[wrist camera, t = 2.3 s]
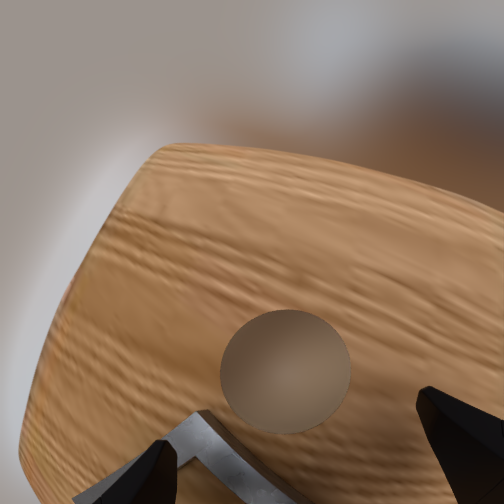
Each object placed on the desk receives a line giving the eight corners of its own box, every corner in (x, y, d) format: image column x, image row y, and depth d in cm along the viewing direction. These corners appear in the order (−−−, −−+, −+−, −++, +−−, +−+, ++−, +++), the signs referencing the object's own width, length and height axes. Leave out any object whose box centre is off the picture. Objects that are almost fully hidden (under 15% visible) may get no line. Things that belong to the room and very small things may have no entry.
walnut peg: (334, 379, 16) (376, 363, 8) (289, 425, 15) (284, 458, 7) (289, 340, 18) (283, 285, 10) (244, 383, 17) (195, 369, 9)
